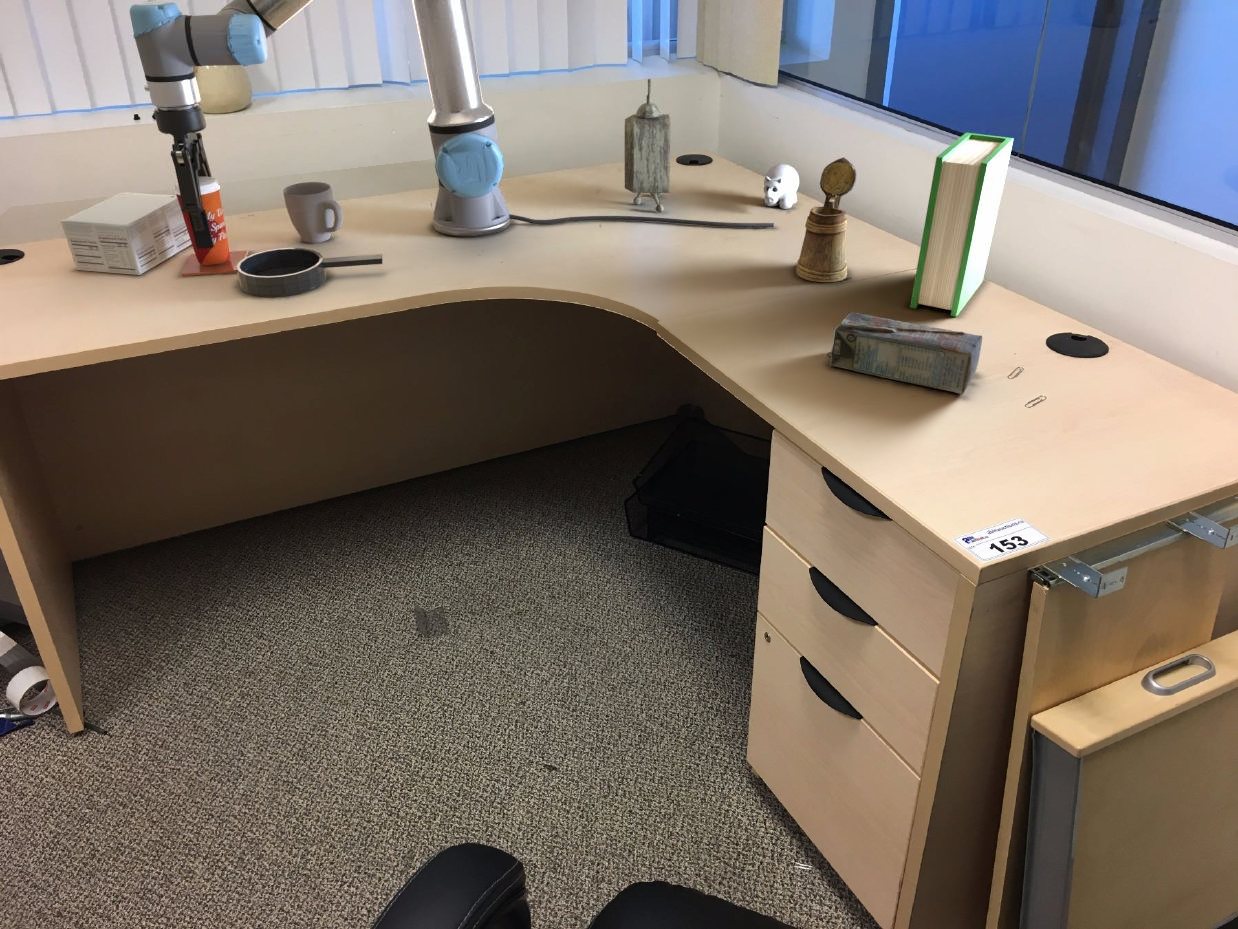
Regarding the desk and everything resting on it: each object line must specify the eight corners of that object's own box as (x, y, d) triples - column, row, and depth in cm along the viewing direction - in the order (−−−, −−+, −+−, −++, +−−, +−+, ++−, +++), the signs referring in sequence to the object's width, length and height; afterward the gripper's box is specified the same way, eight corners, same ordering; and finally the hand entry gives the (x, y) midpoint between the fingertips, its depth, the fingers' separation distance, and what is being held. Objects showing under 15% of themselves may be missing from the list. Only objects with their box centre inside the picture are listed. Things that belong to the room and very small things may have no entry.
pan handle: (382, 259, 166) (382, 253, 165) (382, 264, 164) (381, 258, 163) (324, 263, 164) (323, 257, 164) (323, 268, 162) (322, 262, 162)
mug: (282, 241, 181) (272, 191, 175) (315, 228, 187) (307, 179, 182) (329, 251, 176) (320, 200, 171) (361, 237, 182) (354, 188, 177)
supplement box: (134, 239, 182) (120, 190, 177) (195, 243, 180) (183, 195, 174) (74, 270, 168) (57, 219, 163) (140, 275, 166) (125, 223, 161)
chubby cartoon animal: (748, 214, 194) (751, 172, 189) (769, 198, 203) (772, 158, 198) (782, 219, 191) (785, 176, 186) (801, 203, 200) (805, 162, 195)
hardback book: (956, 316, 150) (987, 163, 137) (910, 307, 153) (936, 156, 140) (982, 281, 162) (1013, 138, 149) (939, 273, 165) (966, 132, 153)
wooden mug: (856, 259, 171) (870, 159, 161) (841, 285, 161) (855, 179, 151) (807, 253, 174) (818, 154, 164) (790, 278, 164) (800, 174, 154)
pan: (328, 264, 170) (325, 245, 168) (323, 293, 159) (319, 273, 157) (247, 269, 168) (242, 250, 166) (235, 300, 156) (230, 280, 154)
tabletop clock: (668, 215, 193) (671, 86, 180) (624, 215, 193) (624, 86, 180) (666, 194, 205) (669, 72, 192) (625, 194, 205) (625, 72, 192)
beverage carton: (845, 346, 141) (851, 305, 137) (977, 374, 133) (987, 331, 129) (828, 367, 135) (833, 324, 131) (965, 398, 127) (975, 354, 123)
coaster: (248, 253, 175) (247, 250, 175) (240, 272, 167) (240, 269, 167) (192, 256, 174) (191, 254, 173) (181, 276, 165) (180, 273, 165)
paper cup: (221, 268, 166) (202, 188, 158) (182, 265, 167) (161, 186, 160) (245, 253, 172) (227, 176, 165) (207, 250, 174) (188, 173, 166)
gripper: (166, 93, 163) (198, 222, 176) (138, 120, 146) (176, 260, 159) (211, 92, 165) (240, 219, 177) (189, 118, 148) (222, 257, 160)
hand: (209, 239), depth 168 cm, fingers closed on paper cup, 8 cm apart
